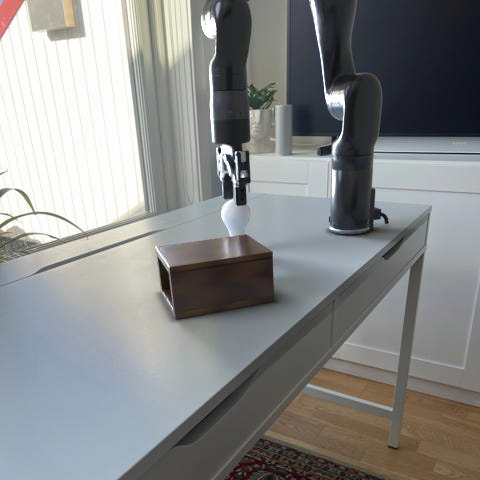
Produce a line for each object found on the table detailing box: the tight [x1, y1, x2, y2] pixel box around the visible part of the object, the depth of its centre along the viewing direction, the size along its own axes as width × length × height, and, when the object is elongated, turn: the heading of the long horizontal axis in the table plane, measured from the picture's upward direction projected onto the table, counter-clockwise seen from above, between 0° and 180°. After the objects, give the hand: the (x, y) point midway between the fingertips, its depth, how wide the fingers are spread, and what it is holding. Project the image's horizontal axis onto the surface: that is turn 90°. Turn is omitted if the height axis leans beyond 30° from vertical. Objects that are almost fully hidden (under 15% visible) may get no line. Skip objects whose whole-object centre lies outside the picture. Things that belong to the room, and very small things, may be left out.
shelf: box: [155, 233, 275, 320], centre depth 77 cm, size 16×12×8 cm
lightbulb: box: [220, 198, 251, 237], centre depth 101 cm, size 6×6×11 cm
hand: (234, 202), depth 99 cm, fingers open, 8 cm apart
